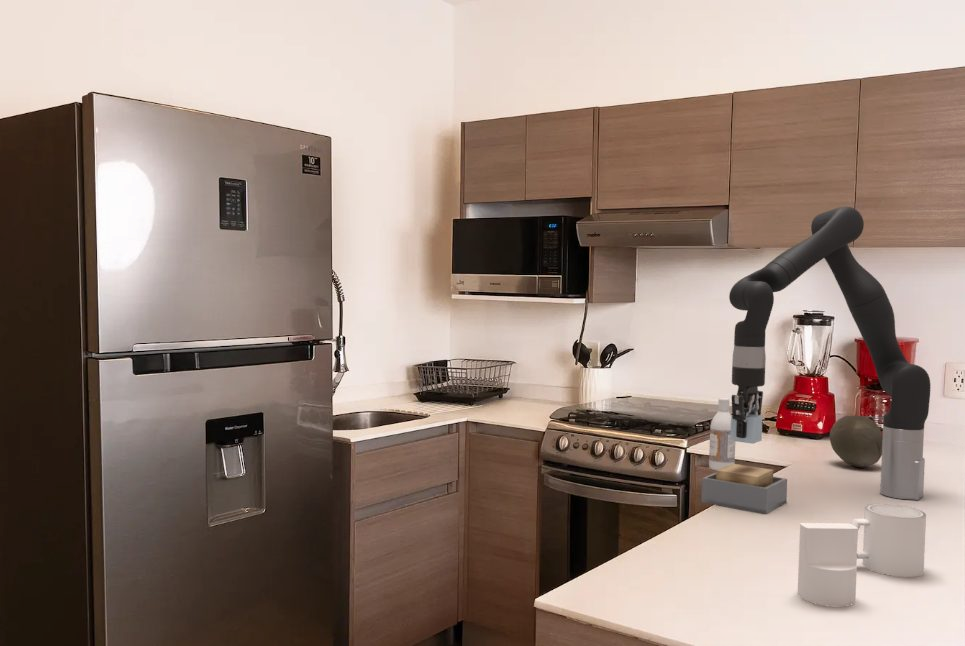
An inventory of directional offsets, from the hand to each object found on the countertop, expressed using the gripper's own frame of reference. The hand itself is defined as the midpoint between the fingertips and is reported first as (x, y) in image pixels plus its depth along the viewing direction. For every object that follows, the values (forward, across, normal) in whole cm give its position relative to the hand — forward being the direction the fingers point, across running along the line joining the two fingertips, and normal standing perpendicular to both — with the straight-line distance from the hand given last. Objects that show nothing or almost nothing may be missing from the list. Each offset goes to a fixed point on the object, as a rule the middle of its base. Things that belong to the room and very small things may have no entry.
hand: (746, 435), depth 202 cm
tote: (+16, 0, 0) cm, 16 cm away
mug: (+16, -28, -38) cm, 50 cm away
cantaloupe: (+16, +62, -9) cm, 65 cm away
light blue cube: (+1, 0, 0) cm, 1 cm away
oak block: (+15, 0, 0) cm, 15 cm away
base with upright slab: (+16, -51, -34) cm, 63 cm away
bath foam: (+16, +32, +19) cm, 41 cm away
